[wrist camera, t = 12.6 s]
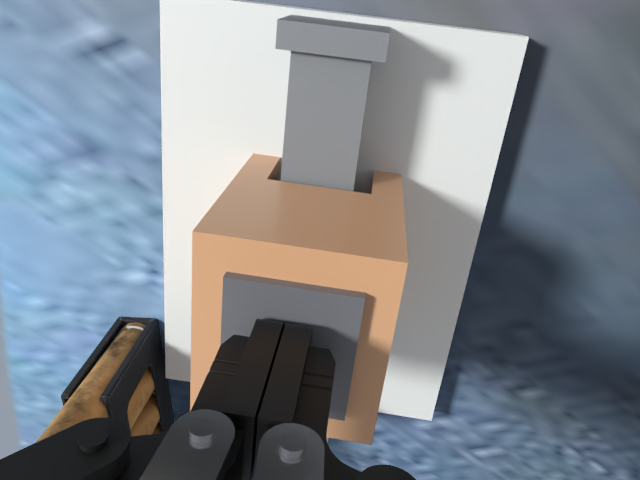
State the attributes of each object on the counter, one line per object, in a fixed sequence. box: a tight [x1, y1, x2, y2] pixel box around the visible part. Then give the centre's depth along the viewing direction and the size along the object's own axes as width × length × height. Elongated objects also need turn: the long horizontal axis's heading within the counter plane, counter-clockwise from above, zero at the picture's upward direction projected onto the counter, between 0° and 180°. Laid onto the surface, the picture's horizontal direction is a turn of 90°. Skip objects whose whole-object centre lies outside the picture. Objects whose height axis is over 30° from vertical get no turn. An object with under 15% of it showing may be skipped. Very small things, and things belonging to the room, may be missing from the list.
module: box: [190, 153, 408, 445], centre depth 18 cm, size 5×6×7 cm
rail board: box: [160, 0, 529, 444], centre depth 21 cm, size 12×16×4 cm
